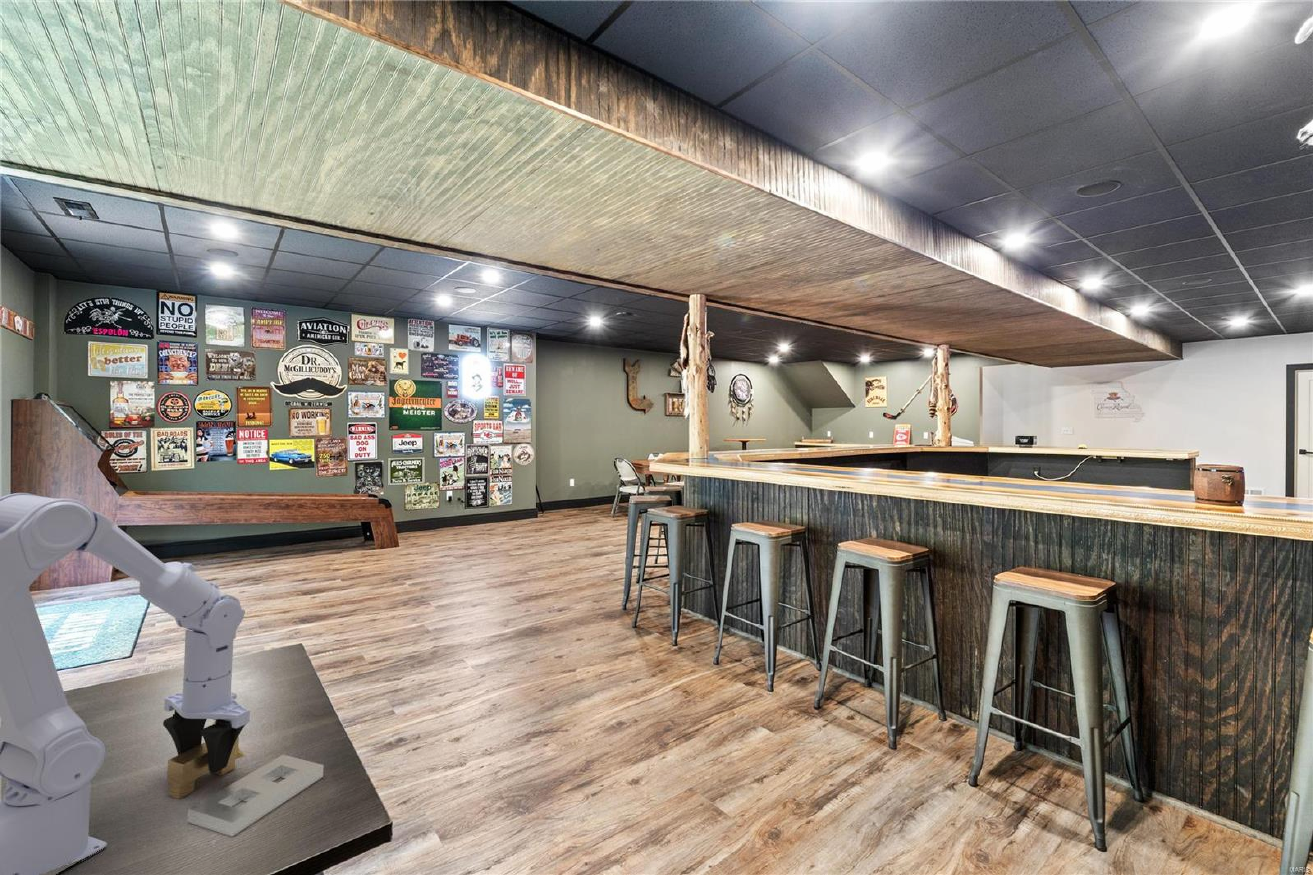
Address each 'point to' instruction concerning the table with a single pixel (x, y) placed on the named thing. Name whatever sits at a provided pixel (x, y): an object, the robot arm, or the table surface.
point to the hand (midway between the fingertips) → (203, 765)
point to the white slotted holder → (254, 795)
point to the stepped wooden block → (193, 769)
